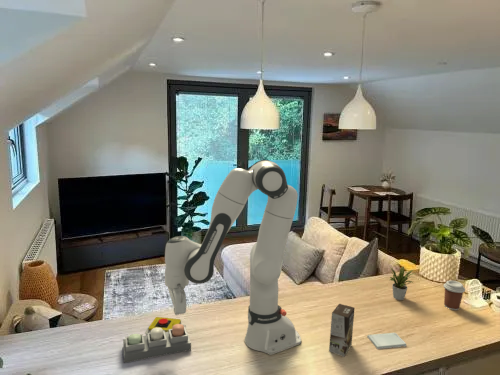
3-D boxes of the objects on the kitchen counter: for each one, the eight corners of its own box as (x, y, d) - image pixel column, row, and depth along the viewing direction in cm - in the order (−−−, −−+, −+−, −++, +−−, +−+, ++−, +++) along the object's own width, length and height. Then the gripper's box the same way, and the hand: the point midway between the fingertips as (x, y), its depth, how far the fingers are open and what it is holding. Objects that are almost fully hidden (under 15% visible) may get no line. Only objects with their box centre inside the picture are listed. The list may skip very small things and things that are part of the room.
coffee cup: (465, 307, 176) (468, 284, 174) (457, 313, 170) (461, 289, 168) (445, 300, 183) (448, 277, 181) (437, 306, 177) (440, 282, 175)
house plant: (421, 306, 176) (424, 274, 173) (392, 305, 176) (395, 273, 173) (408, 292, 190) (412, 262, 187) (382, 291, 190) (384, 262, 187)
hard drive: (395, 332, 152) (367, 334, 150) (406, 343, 144) (377, 346, 142) (394, 335, 153) (366, 338, 150) (406, 347, 145) (377, 350, 142)
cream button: (162, 333, 142) (161, 326, 141) (163, 340, 138) (163, 332, 137) (150, 335, 140) (150, 328, 140) (151, 342, 136) (151, 335, 135)
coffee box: (345, 357, 137) (348, 317, 134) (328, 351, 140) (331, 312, 137) (352, 345, 144) (355, 307, 142) (336, 339, 148) (339, 302, 145)
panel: (186, 335, 148) (186, 323, 147) (191, 349, 139) (191, 337, 138) (123, 346, 140) (122, 334, 139) (124, 362, 131) (123, 350, 130)
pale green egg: (140, 340, 139) (140, 332, 138) (141, 346, 135) (141, 339, 134) (128, 342, 138) (128, 334, 137) (128, 349, 133) (128, 341, 133)
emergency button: (152, 313, 157) (186, 316, 155) (152, 322, 158) (186, 326, 156) (143, 325, 148) (179, 329, 146) (143, 335, 149) (179, 339, 147)
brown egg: (182, 330, 144) (182, 323, 144) (184, 336, 140) (184, 329, 140) (171, 332, 143) (171, 325, 142) (173, 338, 139) (173, 331, 138)
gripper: (190, 290, 129) (190, 326, 131) (180, 267, 148) (180, 299, 150) (172, 292, 127) (172, 329, 129) (164, 269, 145) (164, 301, 148)
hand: (176, 312), depth 140 cm, fingers closed
